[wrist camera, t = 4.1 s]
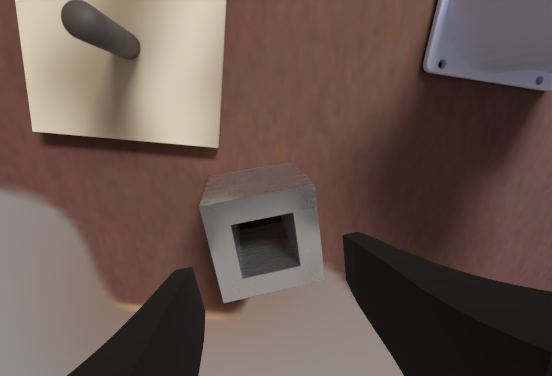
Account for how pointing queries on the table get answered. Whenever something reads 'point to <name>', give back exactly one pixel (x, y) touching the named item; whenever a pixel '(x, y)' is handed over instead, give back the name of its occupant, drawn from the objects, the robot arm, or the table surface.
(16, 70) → the table surface
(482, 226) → the table surface
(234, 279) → the grey hollow cube
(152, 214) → the table surface
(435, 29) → the robot arm
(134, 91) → the cream tile with peg
